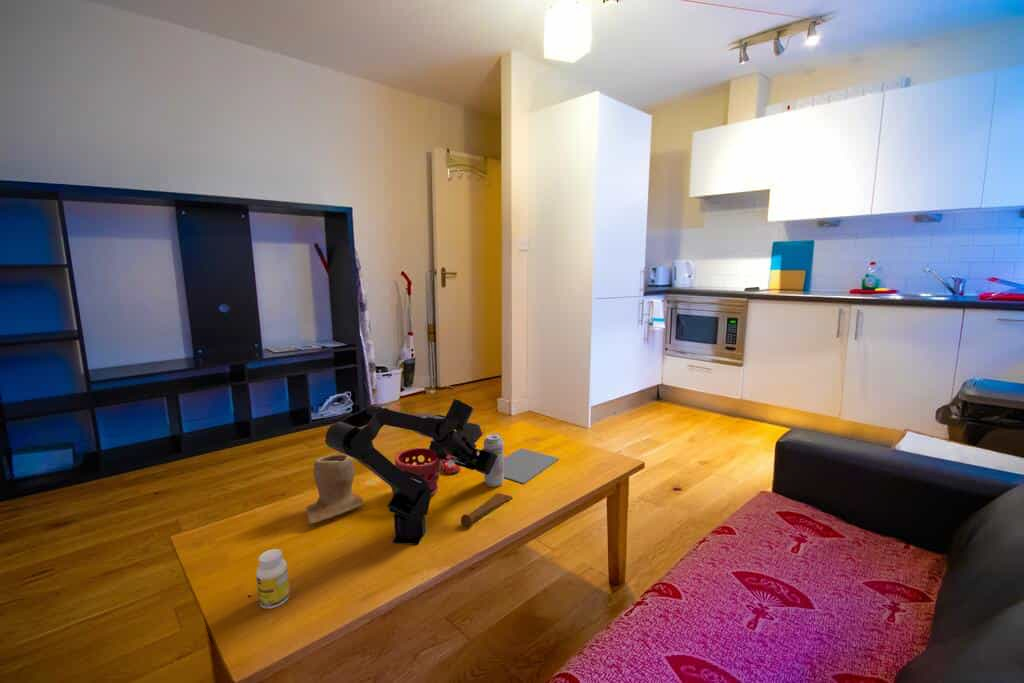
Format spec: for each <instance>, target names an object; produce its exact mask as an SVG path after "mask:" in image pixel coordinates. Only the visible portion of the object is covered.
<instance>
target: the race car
mask: <svg viewBox="0 0 1024 683" xmlns="http://www.w3.org/2000/svg"><path fill="white" fill-rule="evenodd" d="M446 458H447V459H448V460H447V461H443V460H441V470H442V471H443V470H444V471H445V473H446V475H451V474H452V475H453V474H458V473H459V472H460V471H461V466H458V465H455V461H452V460H451V458H452V457H451V456H448V455H447V457H446ZM444 471H443V472H444Z"/></svg>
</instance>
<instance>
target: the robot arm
mask: <svg viewBox="0 0 1024 683" xmlns="http://www.w3.org/2000/svg"><path fill="white" fill-rule="evenodd" d="M473 413H474V408H473V407H472V406H471V405H469V404H467V403H465V402H462V401H461V400H460V399H457V398H456V399H453V400H452V402H451V404H450V407H449V408H448V410H447V413H446V414H445V415H442V414H431V413H416V414H415V413H414V414H411V413H408V412H404V411H399V410H395V409H390V408H388V407H386V406H382V405H379V404H373V403H372V404H369V405H368V406H366V407H365V408H363V409H362V410H359V411H357V412H355V413H352V414H350V415H347V416H345V417H344V418H343V419H341V420H340V421H337V422H334V423H333V424H332V425H330V427H328V429H327V431H326V432H325V433H326V434H325V440H324V442H325V445H326V446H327V447H328V448H330V449H333V450H335V451H337V452H339V453H340V454H345V455H348V456H350V457H352V458H353V459H355V461H357V462H359V463H360V464H361V465H362V466H364V467H366V469H368V470H369V471H370V472H372V473H373V474H374V475H375V476H377V477H378V478H379V479H380V480H382V481H383V482H385V483H386V484H387V485H388V486H390V488H391V491H392V494H393V495H392V496H391V499H390V501H389V502H388V504H387V509H388V510H389V512H390V513H394V515H393V518H394V519H393V521H394V538H393V539H392V543H393V544H403V545H405V544H406V545H419V544H420V542H421V540H422V538H423V537H424V536H425V533H426V531H427V530H426V529H427V528H426V516H427V515H428V511H429V508H430V503H431V499H432V497H431V488H430V486H428V485H429V484H430V483H429V482H426V481H425V480H424V478H423V477H422V476H420V475H418V474H415V473H412V472H410V471H407V470H404V472H402V471H401V470H400V469H399V468H398V467H396V466H395V463H393V462H392V461H391V460H389V459H388V458H387V457H386V456H385V455H384V454H382V453H381V452H380V451H379V450H378V449H376V448H375V446H374V442H373V440H375V438H377V436H378V434H379V432H380V431H381V428H382V427H384V426H389V427H395V428H399V429H403V430H408V431H412V432H414V433H416V434H418V435H419V436H424V437H426V438H430V439H432V440H430V443H429V444H430V445H429V449H430V450H432V451H435V452H436V456H437V457H438V458H440V459H441V460H443V461H447V460H448V459H447V458H446V457H447V455H448V456H451V457H452V458H451V460H452V461H455V465H458V466H460V468H461V467H463V468H465V469H467V470H471V471H476V472H479V473H480V474H483V475H484V474H486V475H488V474H490V472H491V469H492V467H493V465H494V463H495V461H496V458H497V454H496V453H495V452H494V451H492V450H488V449H485V448H484V447H483V448H482V449H478V448H477V444H476V443H477V442H478V440H479V439H480V438H481V437H483V434H484V433H483V432H482V431H483V430H482V429H481V426H480V425H479V424H477V423H473V422H469V420H470V418H471V416H472V414H473Z"/></svg>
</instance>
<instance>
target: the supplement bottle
mask: <svg viewBox="0 0 1024 683" xmlns="http://www.w3.org/2000/svg"><path fill="white" fill-rule="evenodd" d="M258 564H259V566H258V567H257V569H256V572H255V576H256V586H257V587H256V588H257V594H258V602H259V605H260V608H261V607H262V608H263V609H273V608H277V607H279V606H281V605H283V604H284V603H285V602H287V600H288V599H289V597H290V595H291V591H290V581H289V573H288V562H287V561H286V560H285V559H284V558H283V553H282V550H281V549H277V548H275V549H274V548H273V549H272V548H271V549H269V550H267V551H264V552H263V553H261V554H260V555H259V557H258Z"/></svg>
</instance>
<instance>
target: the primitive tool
mask: <svg viewBox="0 0 1024 683" xmlns="http://www.w3.org/2000/svg"><path fill="white" fill-rule="evenodd" d="M510 500H511V501H512V500H513V496H512V495H509V494H504V493H500V492H498V493H494V495H492V497H491V498H489V499H488V500H486V501H485V502H484V503H482V504H481V505H480V506H478V508H474V510H473V511H471V512H470V513H468V514H463V515H462V516H461V517H460V522H461V525H462V526H463V527H464V528H469V529H470V528H471V527H472V525H473V523H475V522H477V521H478V520H480V519H482V518H483V517H484V516H487V515H488V514H489V513H491V512H493V511H494V510H496V509H498V508H500V507H502V506H503V505H505V504H507V503H510ZM506 502H507V503H506ZM504 503H505V504H504ZM492 510H493V511H492ZM482 516H483V517H482Z"/></svg>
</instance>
